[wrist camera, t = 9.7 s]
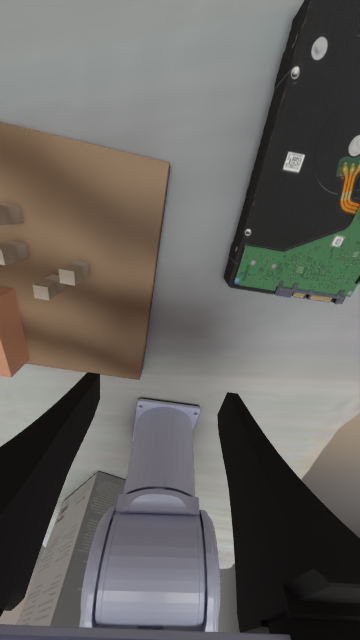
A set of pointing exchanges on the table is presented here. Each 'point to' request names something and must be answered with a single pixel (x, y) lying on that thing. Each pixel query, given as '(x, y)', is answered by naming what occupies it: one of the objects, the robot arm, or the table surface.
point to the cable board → (80, 248)
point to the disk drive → (307, 167)
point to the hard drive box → (69, 555)
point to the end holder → (11, 335)
